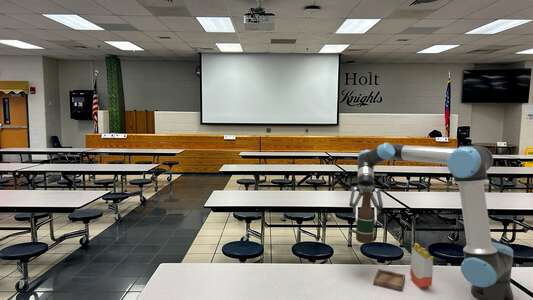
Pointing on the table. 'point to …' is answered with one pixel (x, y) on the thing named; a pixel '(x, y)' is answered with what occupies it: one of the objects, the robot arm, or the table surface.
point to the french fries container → (421, 267)
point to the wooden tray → (389, 280)
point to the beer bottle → (365, 219)
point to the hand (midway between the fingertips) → (366, 220)
